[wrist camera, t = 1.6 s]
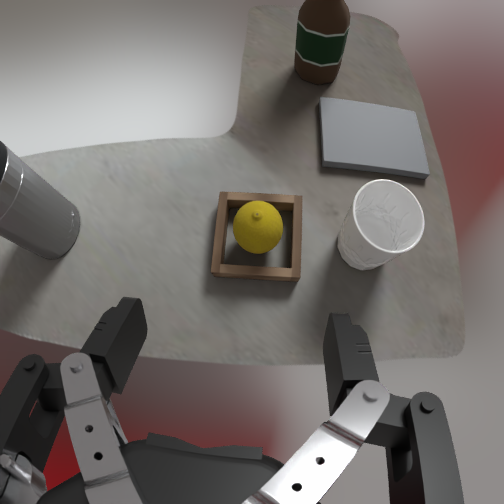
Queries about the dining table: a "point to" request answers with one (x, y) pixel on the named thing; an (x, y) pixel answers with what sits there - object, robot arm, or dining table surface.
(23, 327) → the dining table surface
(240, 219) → the lemon
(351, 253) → the white cup
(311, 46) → the beer bottle
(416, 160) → the gray board
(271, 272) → the walnut collar
